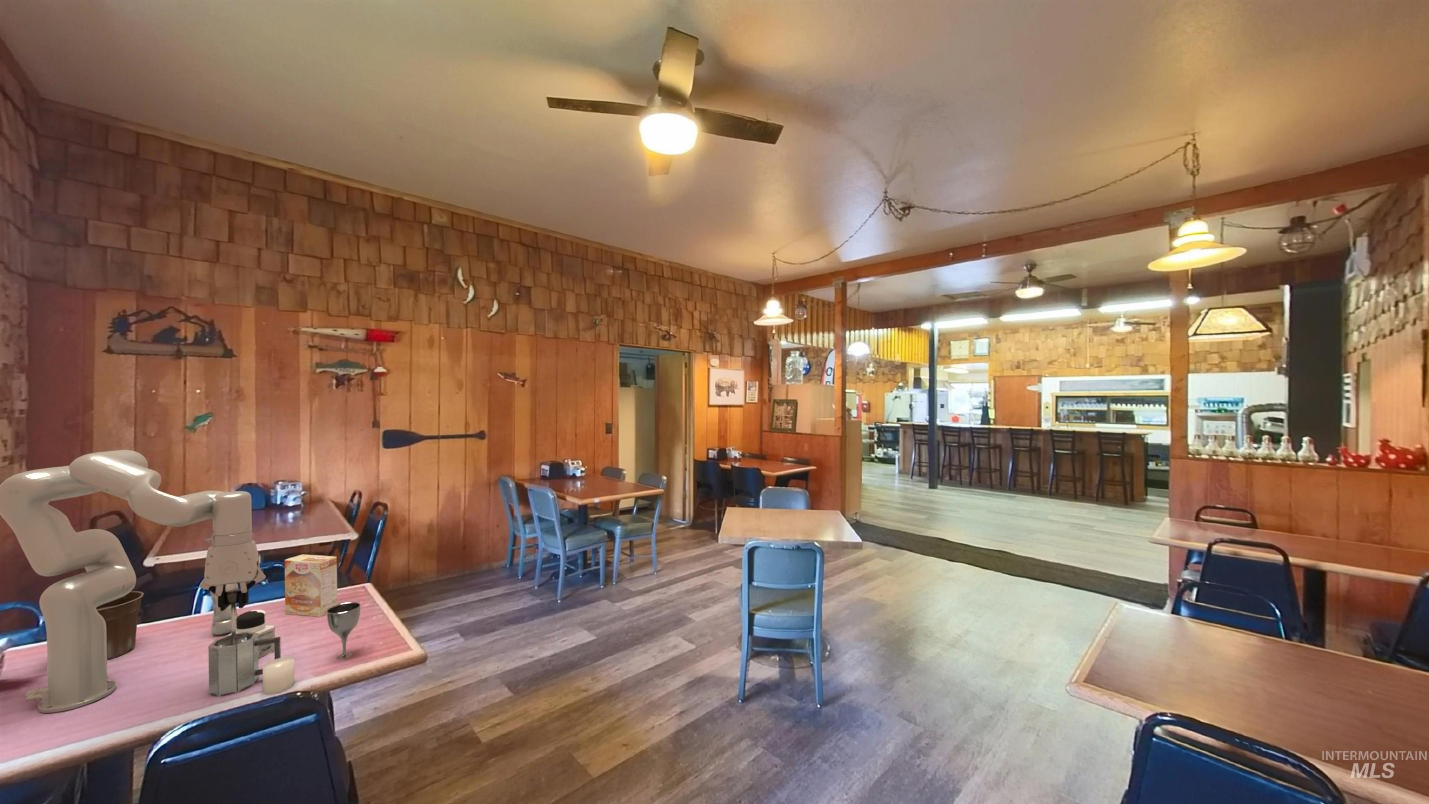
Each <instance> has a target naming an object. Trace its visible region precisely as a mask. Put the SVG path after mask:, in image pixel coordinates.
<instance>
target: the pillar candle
mask: <svg viewBox="0 0 1429 804" xmlns="http://www.w3.org/2000/svg"><path fill="white" fill-rule="evenodd" d="M262 669H263V674H262V694H263V695H275V694H279V693H282V692H284V691H286V690H289V689H290V688H291V687H293V686H294V685H295V657H292V656H285V657H283V656H282V657H281V658H278V659H275V658H274V659H273V660H270V661H268V662H266V663H265V664H263V666H262Z"/></svg>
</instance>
